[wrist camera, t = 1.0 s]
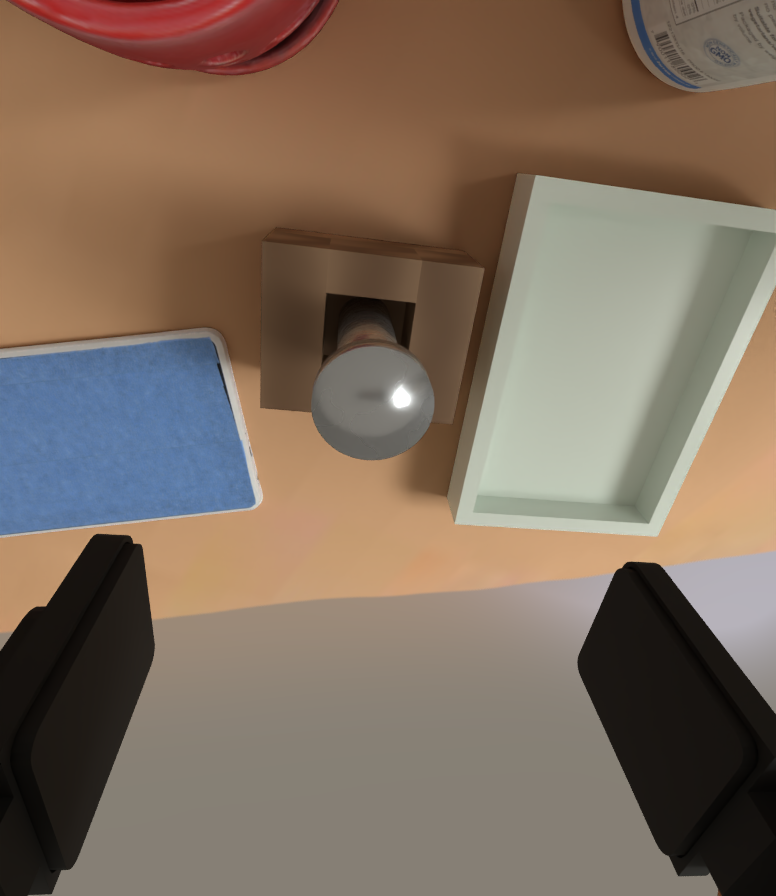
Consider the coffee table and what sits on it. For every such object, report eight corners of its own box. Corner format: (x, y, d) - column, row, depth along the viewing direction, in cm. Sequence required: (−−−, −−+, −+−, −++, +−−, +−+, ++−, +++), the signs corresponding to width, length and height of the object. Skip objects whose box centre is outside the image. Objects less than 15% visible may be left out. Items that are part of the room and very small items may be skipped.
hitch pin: (410, 284, 27) (444, 354, 18) (399, 364, 30) (424, 464, 20) (326, 275, 27) (315, 341, 17) (321, 356, 29) (307, 455, 19)
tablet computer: (224, 322, 30) (219, 329, 29) (267, 502, 36) (264, 513, 35) (-119, 356, 29) (-137, 364, 28) (-16, 531, 36) (-28, 544, 35)
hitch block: (463, 250, 28) (484, 268, 24) (438, 387, 32) (452, 424, 28) (275, 227, 27) (261, 241, 23) (272, 372, 31) (260, 408, 26)
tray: (517, 172, 27) (535, 174, 24) (766, 209, 28) (809, 214, 26) (446, 497, 36) (454, 523, 33) (635, 510, 38) (657, 536, 35)
